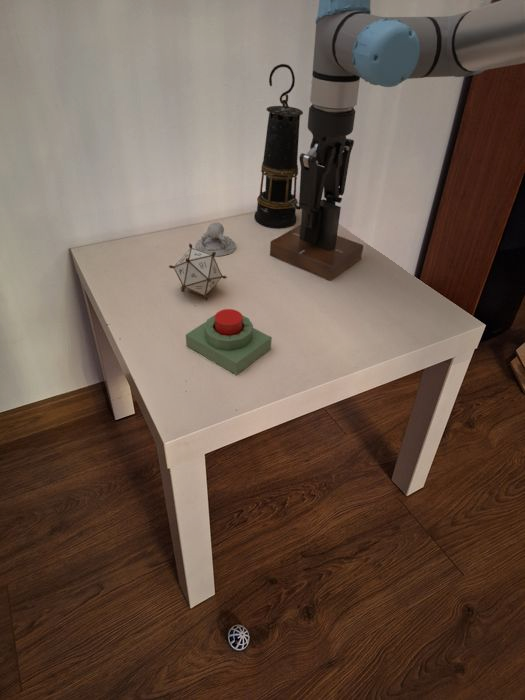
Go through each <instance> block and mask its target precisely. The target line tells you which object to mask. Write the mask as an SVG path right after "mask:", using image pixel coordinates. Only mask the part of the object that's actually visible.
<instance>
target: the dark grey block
mask: <svg viewBox="0 0 525 700" xmlns="http://www.w3.org/2000/svg"><path fill="white" fill-rule="evenodd" d="M322 200H323V199H321V203H320V208H319V210H321V211H322V215H321V223H320V232H319V241H318V244H317V246H319V247H322V248H324V249H327V250H329V251H330V250H332V249H333V248H335V246H336V239H337V235H338V231H339V224H340V217H341V216H340V215H341V210H342V207H341V206H340V205H337V204H335V205H334V204H331V203H328V202H325V201H322ZM305 222H306V210H303V209H301V217H300V225H301V226H300V238H299V239H301V240H304V235H305ZM311 244H312V243H311Z"/></svg>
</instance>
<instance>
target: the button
mask: <svg viewBox="0 0 525 700" xmlns="http://www.w3.org/2000/svg"><path fill="white" fill-rule="evenodd" d="M214 315H215V330H216V332H217V333H219V334H220V335H226V336H232V335H237V334H239V333H240V332H241V331H242V318H243V317H242V315H243V314H242V313H241V312H240V311H239V310H236V309H234V308H233V309H232V308H224V309H221V310H218V312H216V313H215V314H214Z"/></svg>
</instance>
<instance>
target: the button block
mask: <svg viewBox="0 0 525 700" xmlns="http://www.w3.org/2000/svg"><path fill="white" fill-rule="evenodd" d="M215 315H216V314H214V315H212V316H211V317H209V318H208V319H206V321H205V322H203V323H202V324H200V325H199V326H197V327H195V328H194V329H192V330H190V331H189V332H188V333H186V334H185V344H186V347H187V348H189V349H191V350H193V351H194V352H196V353H198V354H199V355H201V356H203V357H205V358H206V359H208V360H210V361H211V362H214V363H215V364H217V365H218V366H220V367H222V368H224V369H225V370H227V371H229V372H230V373H232V374H234V375H235V376H236V375H238V374H240V373H241V372H243V371H244V370H245V369H246V368H247V367H249V366H250V365H251V364H253V363H254V362H255V361H257V360H258V359H260V358H261V357H262V356H263V355H265V354H266V353H267V352H268V351H270V350H271V349H272V336H270V335H268V334H266V333H264V332H262V331H260V330H259V329H257V328H254V325H253V323H252V321H251V319H250V318H248V317H246V316H245V315H243V314H242V317H243V318H242V331H241V332H240V333H239V334H237V335H232V336H226V335H220V334H219V333H217V332H216V330H215Z"/></svg>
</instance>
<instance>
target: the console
mask: <svg viewBox="0 0 525 700" xmlns="http://www.w3.org/2000/svg"><path fill="white" fill-rule="evenodd" d="M300 226H301V224H299V225H298V226H296V227H294V228H292V229H291V230H288V231H287V232H285V233H283V234H282V235H279V236H277V237H276V238H274V239H272V240H271V241H270V244H269V256H271V257H273V258H275V259H278V260H280V261H282V262H285V263H287V264H289V265H292V266H294V267H297V268H299V269H302V270H304V271H306V272H308V273H310V274H313V275H316V276H317V277H320V278H323V279H325V280H327V281H328V282H329V281H330V282H331V281H332V280H334V279H336V278H337V277H338V276H340V274H343V272H345V271H346V270H348V269H349V268H351V267H352V266H354V265H355V264H356V263H358V262H360V260H361V259H362V258H363V257H362V256H363V250H364V244H362V243H359V242H356V241H354V240H350V239H348V238H346V237H343V236H340V235H338V234H337V239H336V246H335V248H333V249H332V250H330V251H329V250H327V249H324V248H322V247H319V246H317V245H314V244H311V243H309V242H306V241H304V240H301V239H299V238H300Z"/></svg>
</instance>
